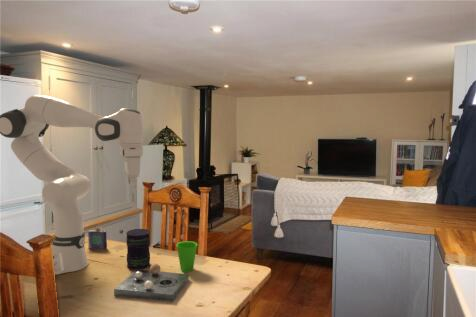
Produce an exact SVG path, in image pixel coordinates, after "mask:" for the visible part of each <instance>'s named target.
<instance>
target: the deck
mask: <svg viewBox="0 0 476 317" xmlns="http://www.w3.org/2000/svg"><path fill="white" fill-rule="evenodd" d="M137 271H140V272H142V274H143V277H142V279H140V280H136V279H135V278H134V274H135V273H136V272H137ZM189 275H190V274H188V273H179V272H169V271H168V272H167V271H160V272H159V273H158V274H152V273H151V272H150V270H146V269H141V270H133V272H132V273H131V274H130V275H128V276H127V277H126V278H125V279H124V280H123V281H122V282H120V283H119V284H118V285H117V286H116V287H114V288H113V293H114V294H113V296H115V297H122V298H123V297H124V298H134V299H142V300H154V301H161V302H162V301H163V302H172V303H173V301H175V299H176V298H177V296H179V294H180V293H181V291H182V290H183V289H184V287H185V286H186V284H187V283H188V282H189V279H190V276H189ZM146 281H151V282H152V283H153V286H152V288H151V289H146V288H145V287H144V284H145V282H146Z"/></svg>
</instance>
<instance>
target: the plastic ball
mask: <svg viewBox="0 0 476 317" xmlns="http://www.w3.org/2000/svg"><path fill="white" fill-rule="evenodd" d="M152 286H153V283H152V282H151V281H146V282H145V284H144V287H145V288H146V289H151V288H152Z"/></svg>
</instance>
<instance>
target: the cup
mask: <svg viewBox="0 0 476 317" xmlns="http://www.w3.org/2000/svg"><path fill="white" fill-rule="evenodd" d="M175 246H176V248H177V253H178V262H179V266H180V268H179V269H180V271H181V270H182V271H181V272H184V273H189V272H192V271H193V270H194V267H195V266H194V265H195V260H196V259H195V258H196V253H197V248H198V246H199V244H198V243H197V242H195V241H190V240H189V241H188V240H186V241H180V242H177V244H176V245H175Z"/></svg>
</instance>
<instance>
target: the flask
mask: <svg viewBox="0 0 476 317" xmlns="http://www.w3.org/2000/svg"><path fill="white" fill-rule="evenodd" d="M87 237H88V240H87V241H88V243H87V244H88V249H89V250H100V251H101V250H107V249H108V243H107V242H108V241H107V231H106V230H104V229H100V227H99V226H98V227H95V229H92V230H88V232H87Z"/></svg>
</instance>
